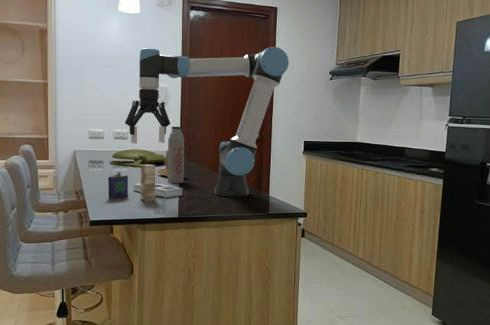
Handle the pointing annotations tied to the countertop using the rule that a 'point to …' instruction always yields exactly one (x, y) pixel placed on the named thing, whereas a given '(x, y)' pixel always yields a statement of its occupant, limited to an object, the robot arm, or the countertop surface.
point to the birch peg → (148, 182)
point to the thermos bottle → (175, 156)
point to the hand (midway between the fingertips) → (148, 143)
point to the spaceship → (137, 157)
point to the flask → (118, 186)
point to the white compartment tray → (162, 190)
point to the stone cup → (165, 171)
